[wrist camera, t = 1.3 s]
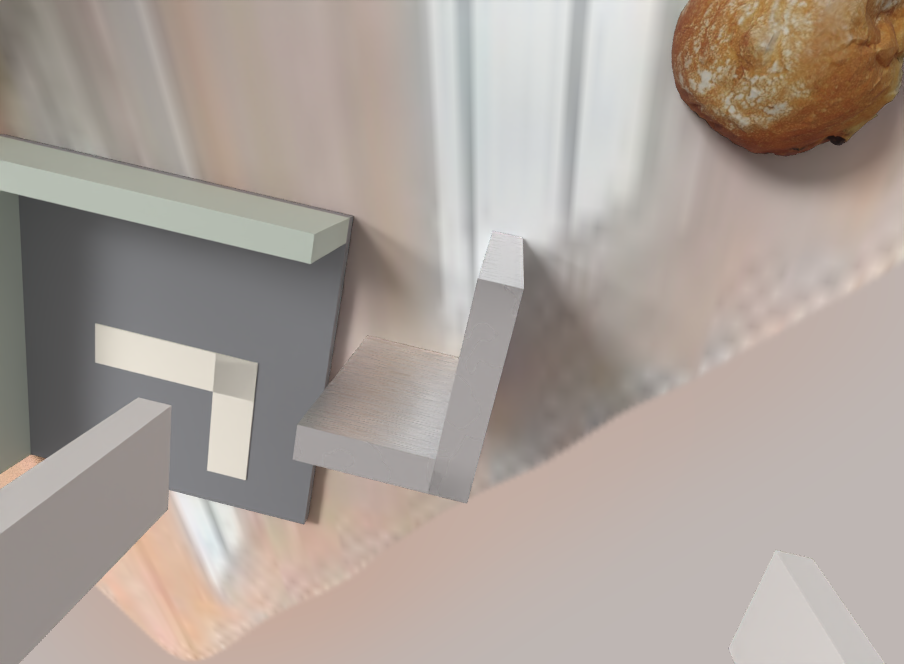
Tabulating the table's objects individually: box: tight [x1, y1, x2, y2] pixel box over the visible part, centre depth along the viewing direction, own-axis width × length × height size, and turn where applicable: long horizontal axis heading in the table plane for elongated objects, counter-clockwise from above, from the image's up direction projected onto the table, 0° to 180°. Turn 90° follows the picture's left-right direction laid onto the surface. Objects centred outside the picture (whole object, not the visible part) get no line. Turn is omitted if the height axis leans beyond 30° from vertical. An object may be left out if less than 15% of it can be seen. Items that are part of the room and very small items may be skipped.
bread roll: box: [672, 0, 904, 156], centre depth 27 cm, size 10×10×8 cm
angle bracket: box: [293, 231, 524, 503], centre depth 29 cm, size 10×8×12 cm
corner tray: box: [0, 134, 354, 524], centre depth 35 cm, size 22×22×7 cm
